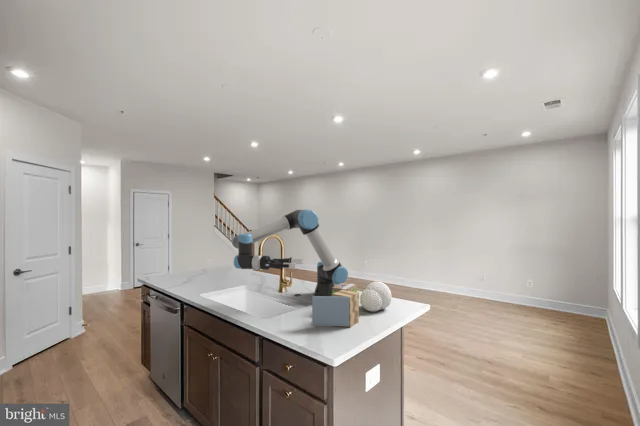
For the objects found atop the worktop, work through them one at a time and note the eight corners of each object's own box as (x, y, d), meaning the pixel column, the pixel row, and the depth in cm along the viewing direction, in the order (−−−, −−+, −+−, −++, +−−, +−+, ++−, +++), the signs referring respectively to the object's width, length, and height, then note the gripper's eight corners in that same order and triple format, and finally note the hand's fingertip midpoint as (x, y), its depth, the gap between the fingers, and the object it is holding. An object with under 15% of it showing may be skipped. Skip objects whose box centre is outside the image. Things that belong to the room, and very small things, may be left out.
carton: (341, 317, 161) (341, 289, 161) (358, 321, 156) (358, 292, 156) (332, 323, 152) (332, 293, 153) (350, 327, 147) (350, 296, 147)
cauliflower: (372, 288, 192) (376, 271, 181) (395, 305, 183) (401, 288, 172) (352, 307, 180) (355, 290, 170) (376, 327, 171) (381, 310, 161)
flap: (312, 324, 148) (312, 296, 148) (349, 325, 147) (349, 296, 147) (312, 325, 147) (312, 296, 147) (349, 326, 146) (349, 297, 146)
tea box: (347, 316, 163) (347, 289, 163) (330, 313, 168) (331, 287, 168) (357, 309, 177) (357, 283, 177) (341, 306, 181) (341, 281, 181)
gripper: (270, 265, 178) (305, 266, 173) (252, 274, 153) (292, 275, 149) (270, 252, 178) (305, 253, 173) (252, 259, 153) (292, 260, 149)
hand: (299, 263), depth 161 cm, fingers open, 13 cm apart
